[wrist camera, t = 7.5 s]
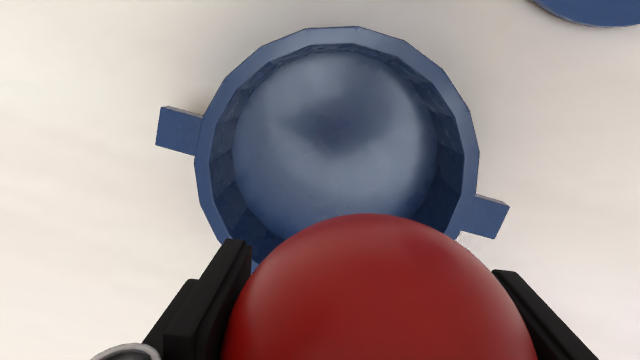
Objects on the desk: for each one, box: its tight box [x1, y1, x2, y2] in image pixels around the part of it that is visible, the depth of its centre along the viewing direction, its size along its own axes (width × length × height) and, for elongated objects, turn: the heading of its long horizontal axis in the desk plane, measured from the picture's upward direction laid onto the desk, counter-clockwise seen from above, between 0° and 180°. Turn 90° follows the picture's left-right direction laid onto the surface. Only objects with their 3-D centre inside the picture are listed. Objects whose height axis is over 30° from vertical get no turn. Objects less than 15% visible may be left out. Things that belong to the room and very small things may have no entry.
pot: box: [155, 26, 510, 274], centre depth 23 cm, size 17×22×5 cm
